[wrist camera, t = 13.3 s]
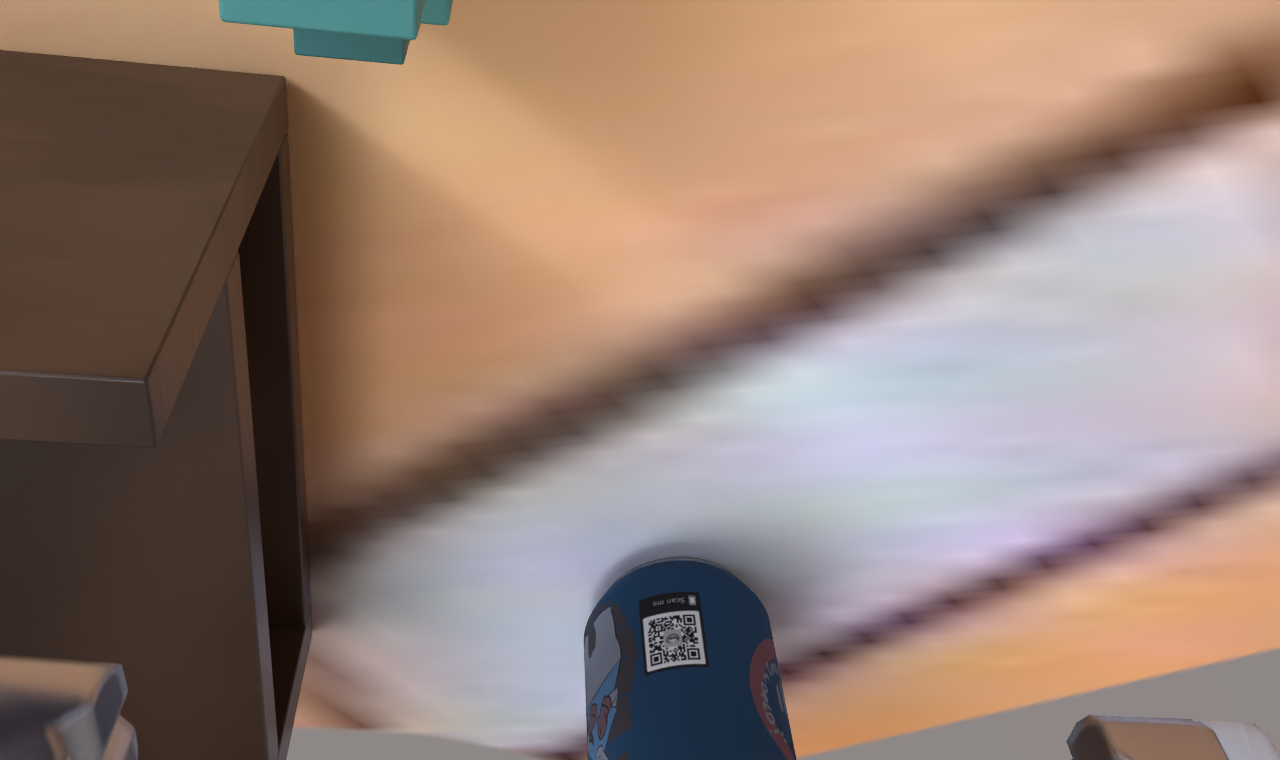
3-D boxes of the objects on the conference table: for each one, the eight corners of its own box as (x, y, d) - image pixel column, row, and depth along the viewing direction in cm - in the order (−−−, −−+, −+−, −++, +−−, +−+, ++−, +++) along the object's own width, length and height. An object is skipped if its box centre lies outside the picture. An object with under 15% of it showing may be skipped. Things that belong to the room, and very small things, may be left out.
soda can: (769, 658, 48) (826, 952, 38) (597, 680, 48) (609, 979, 38) (758, 532, 44) (818, 825, 34) (569, 557, 44) (575, 857, 34)
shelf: (285, 75, 33) (146, 380, 21) (312, 632, 45) (235, 1007, 34) (-150, 34, 31) (-545, 337, 20) (4, 620, 44) (-184, 1007, 33)
